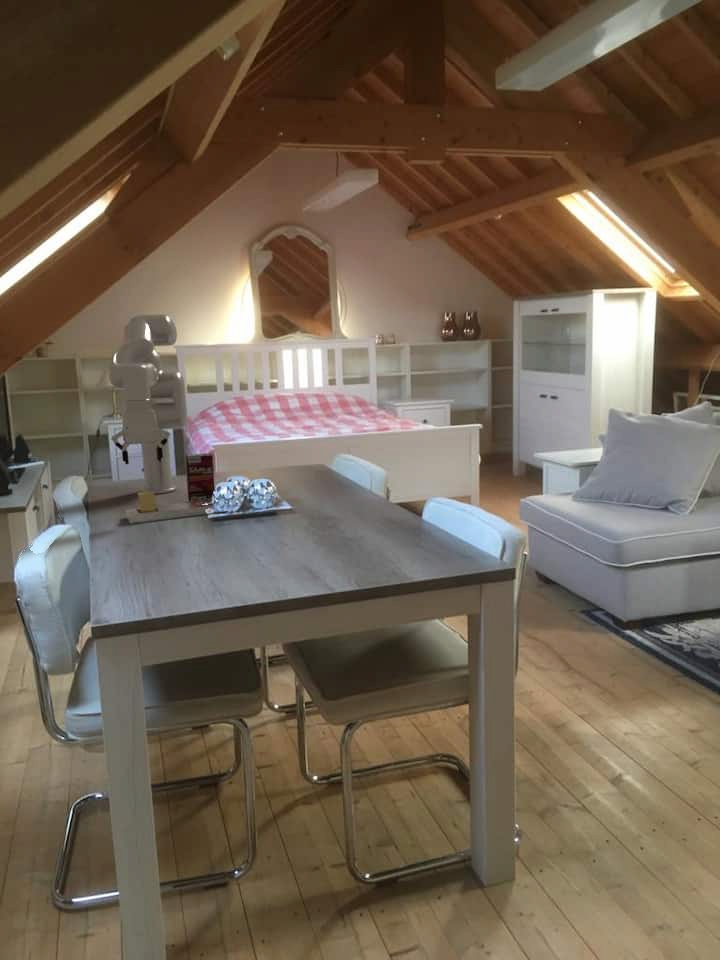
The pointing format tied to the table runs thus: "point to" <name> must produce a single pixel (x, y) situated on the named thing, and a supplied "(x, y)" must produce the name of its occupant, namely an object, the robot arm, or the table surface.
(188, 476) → the supplement box
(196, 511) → the grey board
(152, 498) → the yellow rectangular block
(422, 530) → the table surface
